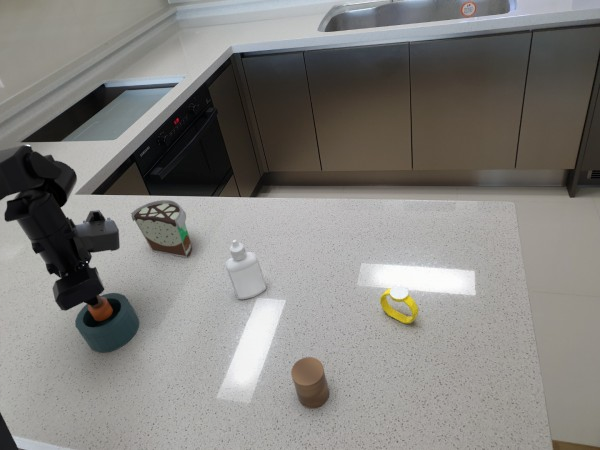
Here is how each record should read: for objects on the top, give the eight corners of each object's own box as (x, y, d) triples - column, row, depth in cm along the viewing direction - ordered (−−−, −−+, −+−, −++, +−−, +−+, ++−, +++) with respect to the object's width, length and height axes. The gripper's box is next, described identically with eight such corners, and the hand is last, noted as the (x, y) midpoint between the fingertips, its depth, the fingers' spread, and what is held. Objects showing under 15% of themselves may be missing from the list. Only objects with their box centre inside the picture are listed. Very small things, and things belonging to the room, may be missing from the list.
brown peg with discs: (98, 324, 77) (77, 293, 72) (91, 315, 79) (71, 284, 74) (115, 313, 78) (96, 281, 74) (108, 304, 80) (89, 273, 76)
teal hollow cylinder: (99, 361, 76) (86, 342, 73) (81, 333, 82) (68, 315, 79) (147, 328, 80) (136, 309, 77) (126, 304, 86) (115, 285, 83)
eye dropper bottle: (263, 300, 81) (247, 249, 74) (233, 300, 82) (214, 250, 75) (268, 282, 84) (253, 232, 77) (239, 282, 86) (222, 233, 78)
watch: (378, 315, 74) (375, 290, 70) (387, 304, 75) (385, 278, 72) (412, 331, 70) (411, 305, 67) (421, 319, 72) (420, 293, 68)
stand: (312, 414, 62) (306, 391, 59) (291, 394, 65) (284, 372, 62) (335, 392, 64) (330, 369, 61) (314, 374, 67) (308, 351, 64)
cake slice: (209, 239, 98) (195, 201, 92) (193, 259, 94) (177, 220, 88) (164, 232, 103) (147, 195, 97) (147, 250, 99) (128, 212, 93)
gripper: (115, 231, 63) (156, 308, 72) (90, 180, 77) (127, 251, 86) (31, 269, 59) (85, 345, 69) (20, 209, 73) (67, 279, 82)
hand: (94, 300), depth 76 cm, fingers closed on brown peg with discs, 2 cm apart
